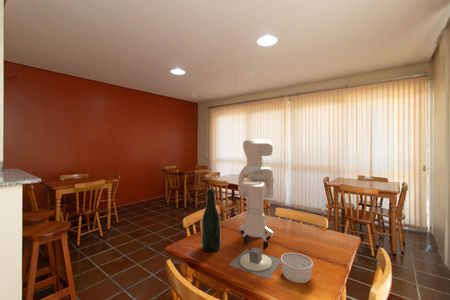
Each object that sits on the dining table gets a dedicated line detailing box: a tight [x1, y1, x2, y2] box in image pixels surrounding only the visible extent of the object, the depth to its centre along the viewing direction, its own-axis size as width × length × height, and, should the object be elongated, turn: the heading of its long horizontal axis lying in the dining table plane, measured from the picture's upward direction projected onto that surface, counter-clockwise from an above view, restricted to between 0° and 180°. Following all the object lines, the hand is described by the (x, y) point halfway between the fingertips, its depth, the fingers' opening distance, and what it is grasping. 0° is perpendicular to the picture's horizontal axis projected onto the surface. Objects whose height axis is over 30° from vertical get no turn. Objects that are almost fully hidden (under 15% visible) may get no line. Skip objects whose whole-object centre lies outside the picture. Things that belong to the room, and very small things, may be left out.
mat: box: [228, 249, 281, 280], centre depth 103 cm, size 20×18×1 cm
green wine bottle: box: [201, 187, 222, 253], centre depth 118 cm, size 10×10×33 cm
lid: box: [240, 247, 272, 271], centre depth 103 cm, size 15×15×6 cm
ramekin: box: [280, 252, 314, 284], centre depth 92 cm, size 13×13×7 cm
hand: (255, 246), depth 102 cm, fingers open, 9 cm apart
